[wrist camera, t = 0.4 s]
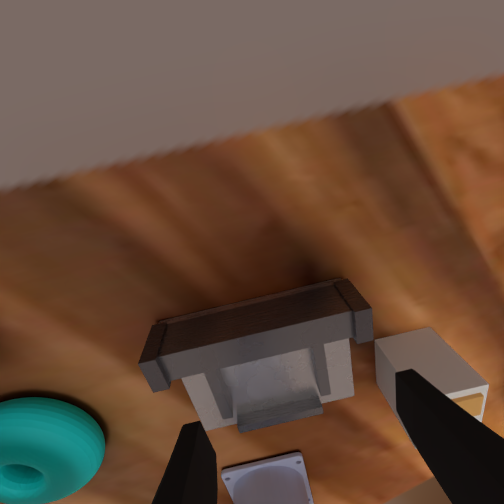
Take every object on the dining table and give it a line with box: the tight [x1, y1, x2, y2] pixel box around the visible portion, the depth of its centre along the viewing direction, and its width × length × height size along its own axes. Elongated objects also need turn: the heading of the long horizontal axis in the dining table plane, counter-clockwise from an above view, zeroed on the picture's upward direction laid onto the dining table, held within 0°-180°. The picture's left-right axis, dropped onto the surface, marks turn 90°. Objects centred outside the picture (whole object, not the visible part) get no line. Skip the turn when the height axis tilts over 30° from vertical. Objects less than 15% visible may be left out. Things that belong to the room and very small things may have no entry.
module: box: [374, 327, 489, 449], centre depth 21 cm, size 5×4×6 cm
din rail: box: [138, 278, 373, 433], centre depth 20 cm, size 12×14×4 cm
